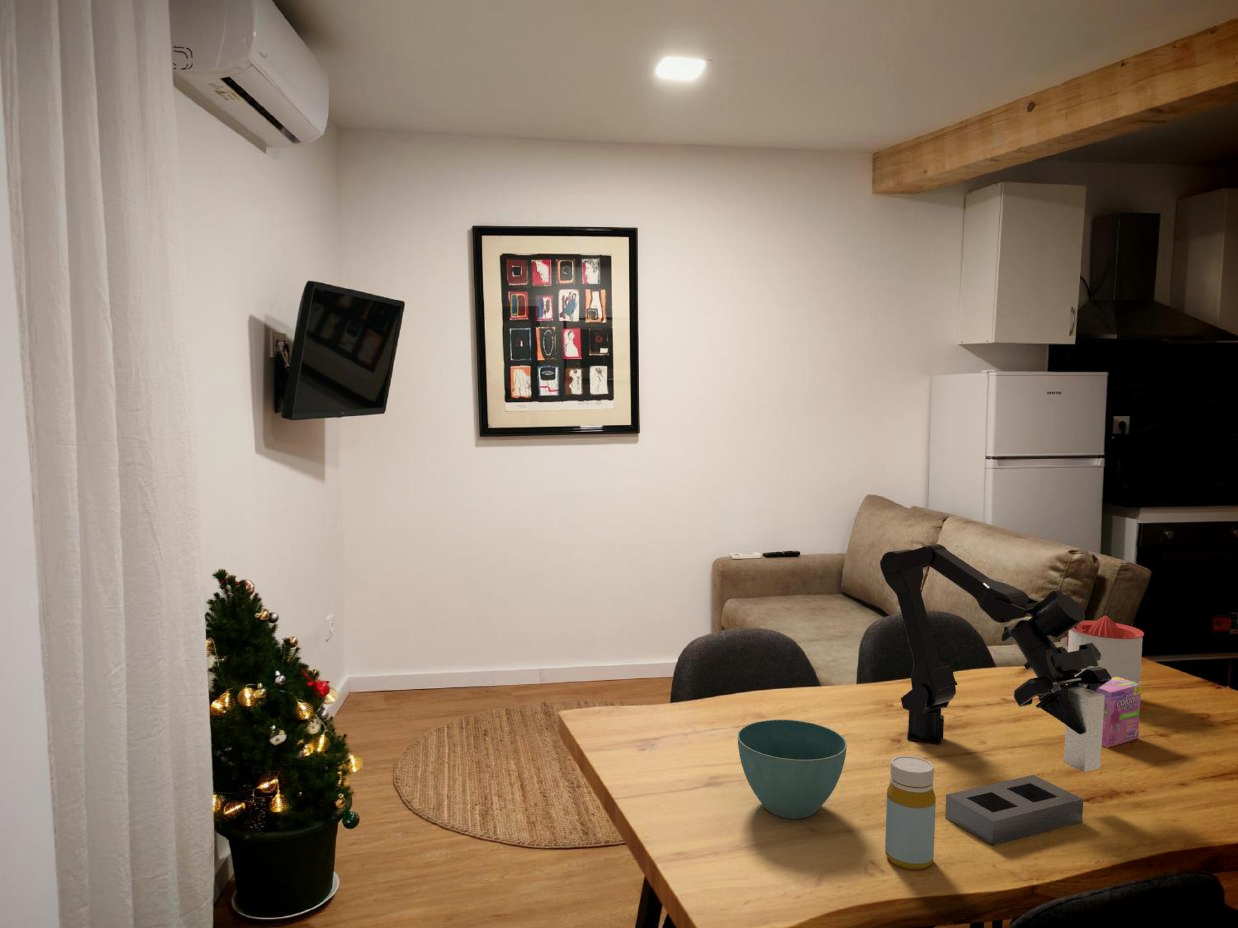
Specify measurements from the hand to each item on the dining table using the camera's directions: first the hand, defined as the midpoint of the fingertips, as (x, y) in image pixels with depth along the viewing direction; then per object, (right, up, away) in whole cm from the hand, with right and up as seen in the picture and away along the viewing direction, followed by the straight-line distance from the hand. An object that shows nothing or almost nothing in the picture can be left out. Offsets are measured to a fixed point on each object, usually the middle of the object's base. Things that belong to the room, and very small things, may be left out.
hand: (1091, 731), depth 150 cm
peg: (-1, -6, +2) cm, 7 cm away
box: (+21, -11, +31) cm, 39 cm away
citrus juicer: (+32, -10, +56) cm, 65 cm away
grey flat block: (-15, -14, -4) cm, 21 cm away
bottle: (-37, -15, -17) cm, 43 cm away
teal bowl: (-52, -13, 0) cm, 53 cm away
